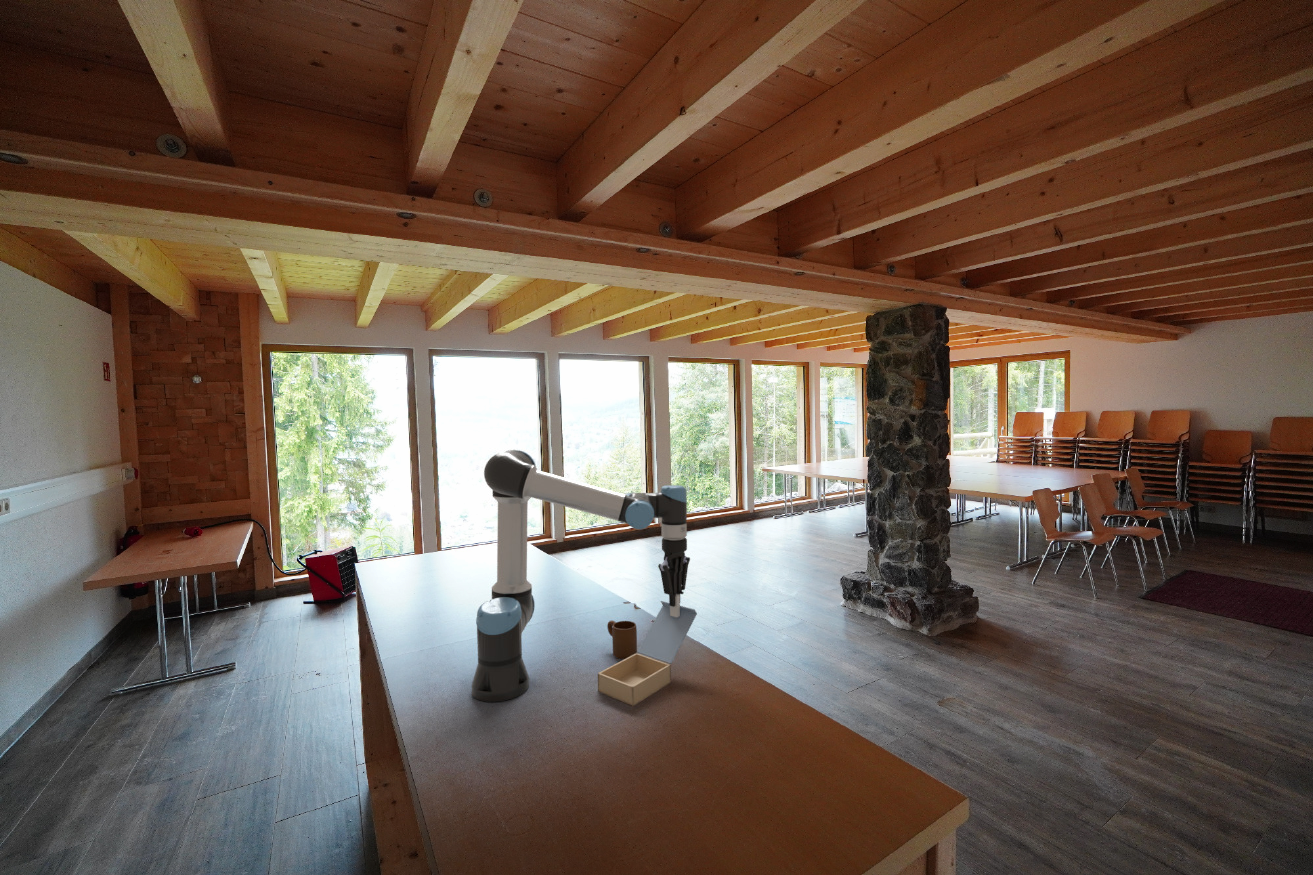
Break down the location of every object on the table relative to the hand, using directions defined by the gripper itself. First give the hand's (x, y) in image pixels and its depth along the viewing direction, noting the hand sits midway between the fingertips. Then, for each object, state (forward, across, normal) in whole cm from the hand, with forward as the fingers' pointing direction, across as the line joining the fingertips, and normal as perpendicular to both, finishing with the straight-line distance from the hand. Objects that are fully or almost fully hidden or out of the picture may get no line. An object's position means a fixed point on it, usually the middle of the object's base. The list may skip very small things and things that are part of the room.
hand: (675, 615), depth 165 cm
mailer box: (+15, -18, 0) cm, 23 cm away
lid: (+2, -5, 0) cm, 5 cm away
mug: (+15, -4, +18) cm, 24 cm away
